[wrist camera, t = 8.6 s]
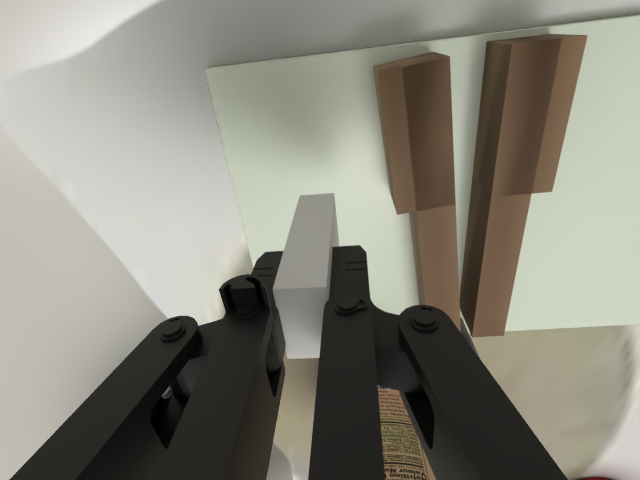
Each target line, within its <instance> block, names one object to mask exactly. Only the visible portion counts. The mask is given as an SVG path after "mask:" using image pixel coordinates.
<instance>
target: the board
mask: <svg viewBox="0 0 640 480" xmlns="http://www.w3.org/2000/svg"><path fill="white" fill-rule="evenodd" d="M545 34H570V35H588V36H587V41H586V45H585V49H584V54H583V58H582V63H581V67H580V71H579V76H578V80H577V85H576V89H575V93H574V98H573V102H572V107H571V111H570V116H569V120H568V124H567V129H566V133H565V138H564V142H563V146H562V151H561V155H560V160H559V164H558V168H557V173H556V177H555V182H554V186H553V190H552V192H545V193H533V194H531V200H530V205H529V210H528V215H527V220H526V225H525V230H524V235H523V240H522V245H521V250H520V256H519V261H518V266H517V271H516V276H515V281H514V286H513V291H512V296H511V301H510V306H509V311H508V317H507V322H506V327H505V331H517V330H536V329H555V328H574V327H593V326H612V325H632V324H640V15H632V16H624V17H616V18H608V19H600V20H592V21H583V22H575V23H567V24H559V25H551V26H543V27H535V28H526V29H518V30H510V31H502V32H494V33H486V34H478V35H470V36H461V37H453V38H445V39H437V40H429V41H421V42H413V43H404V44H396V45H388V46H380V47H372V48H364V49H356V50H348V51H339V52H331V53H323V54H315V55H307V56H299V57H291V58H282V59H274V60H266V61H258V62H250V63H242V64H234V65H225V66H217V67H210V68H207V69H204V71H205V75H206V79H207V83H208V87H209V91H210V95H211V99H212V103H213V107H214V111H215V115H216V119H217V123H218V127H219V131H220V135H221V139H222V143H223V147H224V151H225V155H226V159H227V163H228V167H229V172H230V176H231V180H232V184H233V188H234V192H235V196H236V200H237V204H238V208H239V212H240V216H241V220H242V224H243V228H244V232H245V236H246V240H247V244H248V248H249V252H250V256H251V260H252V264H253V268H254V266H255V263H256V261H257V259H258V258H259V257H260V256H261V255H262V254H264V253H265V252H271V251H284V248H285V245H286V241H287V238H288V234H289V231H290V227H291V224H292V220H293V217H294V214H295V210H296V207H297V203H298V200H299V196H300V195H313V194H326V193H334V196H335V206H336V216H337V226H338V237H339V246H354V245H360V246H361V247H362V248H363V249H364V250H365V251H366V253H367V265H368V278H369V290H370V298H371V301H372V302H373V304H374V305H375V306H376V307H378V308H379V309H381V310H383V311H385V312H388V313H392V314H397V315H400V313H401V312H402V311H404V310H405V309H406V308H408V307H411V306H414V305H420V304H419V295H418V286H417V277H416V268H415V259H414V250H413V241H412V232H411V223H410V214H409V213H404V214H399V215H397V213H396V209H395V206H394V203H393V200H392V197H391V194H390V189H389V182H388V174H387V167H386V160H385V152H384V145H383V138H382V130H381V123H380V116H379V108H378V101H377V94H376V86H375V79H374V72H373V66H376V65H380V64H384V63H388V62H392V61H397V60H401V59H405V58H409V57H413V56H418V55H422V54H426V53H430V52H436V53H440V54H444V55H448V56H450V72H451V98H452V123H453V148H454V174H455V199H456V225H457V250H458V275H459V299H460V290H461V280H462V271H463V261H464V252H465V242H466V233H467V223H468V214H469V204H470V195H471V185H472V176H473V166H474V157H475V147H476V138H477V128H478V119H479V109H480V100H481V90H482V81H483V71H484V62H485V52H486V43H487V41H495V40H504V39H512V38H520V37H528V36H537V35H545ZM460 318H462V319H463V321H464V323H465V326H466V328H467V330H468V333H470V331H469V329H468V327H467V324H466V322H465V320H464V317H463V315H462V313H461V311H460Z"/></svg>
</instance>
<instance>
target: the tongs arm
mask: <svg viewBox="0 0 640 480" xmlns="http://www.w3.org/2000/svg"><path fill="white" fill-rule="evenodd" d="M373 72H374V79H375V86H376V94H377V101H378V108H379V116H380V123H381V130H382V138H383V145H384V152H385V160H386V167H387V174H388V182H389V189H390V194H391V197H392V200H393V203H394V206H395V209H396V213H397V215H399V214H404V213H409V214H410V223H411V232H412V241H413V250H414V259H415V268H416V277H417V286H418V295H419V304H420V305H429V306H434V307H436V308H438V309H440V310H443V311H444V312H445V313H446V314H447V315H448V316H449V317H450V318H451V320H452V321H453V323H454V324H455V325H456V327H457V328H458V329H459V331H460V332H461V326H460V301H459V275H458V250H457V225H456V199H455V174H454V148H453V123H452V98H451V72H450V56H448V55H444V54H440V53H436V52H430V53H426V54H422V55H418V56H413V57H409V58H405V59H401V60H397V61H392V62H388V63H384V64H380V65H376V66H373Z"/></svg>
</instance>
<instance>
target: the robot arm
mask: <svg viewBox="0 0 640 480" xmlns="http://www.w3.org/2000/svg"><path fill="white" fill-rule="evenodd" d="M219 291H220V295H221V298H222V301H223V304H224V307H225V311H226V313H225V316H224V318H223V319H220V320H217V321H215V322H211V323H207V324H204V325H200V326H198V324H197V322H196V321H195V319H194V318H192V317H189V316H177V317H173V318H170V319H168V320H166V321H164V322H162V323H160V324H159V325H158V326H157V327H155V328H154V329H153V330H152V331H151V332H150V333H149V334H148V335H147V336H146V338H145V339H144V340H143V341H142V342H141V343H140V344H139V345H138V346H137V347H136V348H135V349H134V350H133V351H132V352H131V353H130V354H129V355H128V356H127V357H126V358H125V359H124V361H123V362H122V363H121V364H120V365H119V366H118V367H117V368H116V369H115V370H114V371H113V372H112V373H111V374H110V375H109V376H108V377H107V378H106V379H105V380H104V382H103V383H102V384H101V385H100V386H99V387H98V388H97V389H96V390H95V391H94V392H93V393H92V394H91V395H90V396H89V397H88V398H87V399H86V400H85V401H84V402H83V403H82V404H81V406H80V407H79V408H78V409H77V410H76V411H75V412H74V413H73V414H72V415H71V416H70V417H69V418H68V419H67V420H66V421H65V422H64V423H63V424H62V425H61V426H60V427H59V429H58V430H57V431H56V432H55V433H54V434H53V435H52V436H51V437H50V438H49V439H48V440H47V441H46V442H45V443H44V444H43V445H42V446H41V448H39V449H38V451H37V452H36V453H35V454H34V455H33V456H32V457H31V458H30V459H29V460H28V461H27V462H26V463H25V464H24V465H23V466H22V467H21V469H19V470H18V472H16V474H15V475H14V476H13V477H12V478H11V479H10V480H266V477H267V471H268V466H269V460H270V455H271V449H272V443H273V438H274V432H275V427H276V421H277V416H278V410H279V404H280V399H281V393H282V388H283V382H284V377H285V366H284V362H283V356H284V351H285V349H286V353H287V358H288V359H298V358H319V367H318V378H317V389H316V400H315V411H314V422H313V433H312V444H311V455H310V466H309V478H308V480H385V471H384V458H383V446H382V433H381V421H380V408H379V396H378V385H380V386H383V387H387V388H390V389H394V390H397V391H399V393H400V396H401V399H402V401H403V403H404V406H405V408H406V410H407V413H408V415H409V417H410V420H411V422H412V424H413V427H414V429H415V431H416V434H417V436H418V438H419V441H420V443H421V445H422V448H423V450H424V452H425V455H426V457H427V459H428V462H429V464H430V467H431V469H432V471H433V474H434V476H435V478H436V480H568V479H567V478H566V477H565V475H564V474H563V473H562V471H561V470H560V468H559V467H558V466H557V464H556V463H555V462H554V460H553V459H552V457H551V456H550V455H549V453H548V452H547V451H546V449H545V448H544V446H543V445H542V444H541V442H540V441H539V440H538V438H537V437H536V435H535V434H534V433H533V431H532V430H531V429H530V427H529V426H528V424H527V423H526V422H525V420H524V419H523V418H522V416H521V415H520V413H519V412H518V411H517V409H516V408H515V407H514V405H513V404H512V402H511V401H510V400H509V398H508V397H507V396H506V394H505V393H504V391H503V390H502V389H501V387H500V386H499V385H498V383H497V382H496V380H495V379H494V378H493V376H492V375H491V374H490V372H489V371H488V369H487V368H486V367H485V365H484V364H483V363H482V361H481V360H480V358H479V357H478V356H477V354H476V353H475V352H474V350H473V349H472V347H471V346H470V345H469V343H468V342H467V341H466V339H465V338H464V336H463V335H462V334H461V332H460V331H459V329H458V328H457V327H456V325H455V324H454V323H453V321H452V320H451V318H450V317H449V316H448V315H447V314H446V313H445V312H444V311H443V310H440V309H438V308H436V307H434V306H429V305H414V306H411V307H408V308H406V309H405V310H404V311H402V312H401V313H400V315H397V314H392V313H388V312H385V311H383V310H381V309H379V308H378V307H376V306H375V305H374V304H373V302H372V301H371V298H370V290H369V278H368V265H367V253H366V251H365V250H364V249H363V248H362V247H361V246H360V245H354V246H339V237H338V226H337V216H336V206H335V196H334V193H326V194H313V195H300V196H299V200H298V203H297V207H296V210H295V214H294V217H293V220H292V224H291V227H290V231H289V234H288V238H287V241H286V245H285V248H284V251H271V252H265V253H264V254H262V255H261V256H260V257H259V258H258V259H257V261H256V263H255V266H254V270H253V271H252V274H251V275H249V274H247V275H241V276H237V277H234V278H232V279H230V280H228V281H227V282H225V283H224V284H223V285H222V286H221V287H220V289H219ZM168 387H170V390H169V391H168V392H167V393H166V394H165V395H164V396H163V397H162V395H163V393H164V392H165V391H166V390H167V388H168Z"/></svg>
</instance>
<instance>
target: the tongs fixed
mask: <svg viewBox="0 0 640 480" xmlns="http://www.w3.org/2000/svg"><path fill="white" fill-rule="evenodd" d="M587 36H588V35H570V34H545V35H537V36H528V37H520V38H512V39H504V40H495V41H487V43H486V52H485V62H484V71H483V81H482V90H481V100H480V109H479V119H478V128H477V138H476V147H475V157H474V166H473V176H472V185H471V195H470V204H469V214H468V223H467V233H466V242H465V252H464V261H463V271H462V280H461V290H460V299H459V301H460V311H461V313H462V315H463V317H464V320H465V322H466V324H467V327H468V329H469V331H470V333H471V336H472V337H484V336H503V335H504V332H505V327H506V322H507V317H508V311H509V306H510V301H511V296H512V291H513V286H514V281H515V276H516V271H517V266H518V261H519V256H520V250H521V245H522V240H523V235H524V230H525V225H526V220H527V215H528V210H529V205H530V200H531V194H533V193H545V192H552V190H553V186H554V182H555V177H556V173H557V168H558V164H559V160H560V155H561V151H562V146H563V142H564V138H565V133H566V129H567V124H568V120H569V116H570V111H571V107H572V102H573V98H574V93H575V89H576V85H577V80H578V76H579V71H580V67H581V63H582V58H583V54H584V49H585V45H586V41H587ZM460 326H461V334H462V335H463V336H464V338H465V339H466V341H467V342H468V343H469V345H470V346H471V347H472V349H473V350H474V352H475V353H476V354H477V356H478V353H477V351H476V349H475V347H474V344H473V342H472V340H471V337H470V335H469V333H468V330H467V328H466V326H465V323H464V321H463V319H462V318H460ZM478 357H479V356H478Z"/></svg>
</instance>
